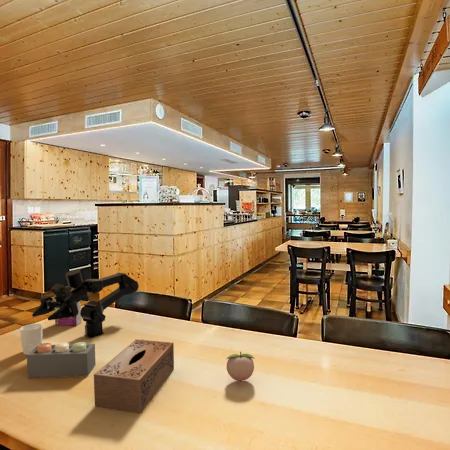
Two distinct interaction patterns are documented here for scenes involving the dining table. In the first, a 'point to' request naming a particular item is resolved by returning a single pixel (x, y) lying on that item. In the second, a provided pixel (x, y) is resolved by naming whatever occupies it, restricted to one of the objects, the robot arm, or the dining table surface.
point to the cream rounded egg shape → (62, 347)
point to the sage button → (79, 347)
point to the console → (61, 363)
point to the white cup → (31, 337)
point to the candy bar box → (69, 321)
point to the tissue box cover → (134, 376)
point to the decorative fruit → (240, 366)
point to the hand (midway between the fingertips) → (40, 317)
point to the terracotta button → (44, 348)
